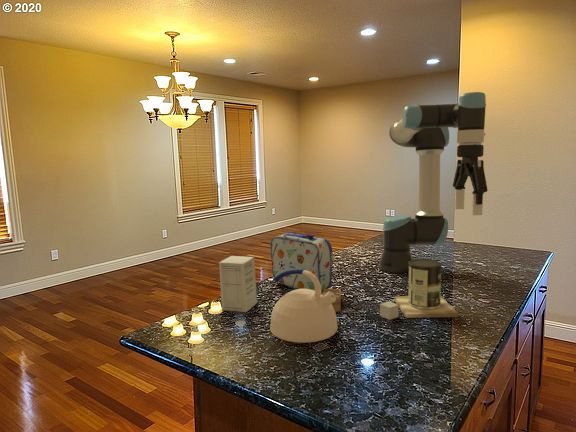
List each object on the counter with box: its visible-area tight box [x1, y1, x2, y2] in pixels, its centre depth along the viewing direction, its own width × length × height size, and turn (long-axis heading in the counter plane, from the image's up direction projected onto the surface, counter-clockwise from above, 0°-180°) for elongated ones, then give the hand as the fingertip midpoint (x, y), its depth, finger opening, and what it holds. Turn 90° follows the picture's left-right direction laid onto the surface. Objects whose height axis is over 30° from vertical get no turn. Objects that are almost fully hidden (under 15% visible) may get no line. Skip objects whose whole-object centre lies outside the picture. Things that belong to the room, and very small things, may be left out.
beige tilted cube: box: [379, 300, 400, 321], centre depth 128 cm, size 4×4×4 cm
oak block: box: [321, 288, 342, 299], centre depth 142 cm, size 5×6×4 cm
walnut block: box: [321, 292, 342, 313], centre depth 135 cm, size 5×5×5 cm
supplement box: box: [218, 255, 258, 313], centre depth 139 cm, size 10×9×17 cm
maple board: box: [394, 295, 459, 319], centre depth 134 cm, size 16×16×1 cm
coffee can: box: [408, 258, 443, 310], centre depth 133 cm, size 10×10×14 cm
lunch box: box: [270, 231, 336, 291], centre depth 156 cm, size 28×10×22 cm, turn 47°
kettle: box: [269, 269, 339, 344], centre depth 120 cm, size 20×21×18 cm
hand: (467, 212), depth 129 cm, fingers open, 13 cm apart
